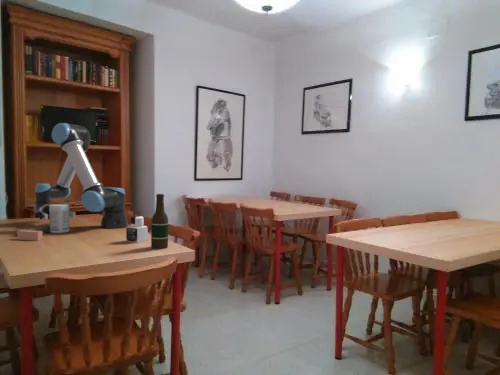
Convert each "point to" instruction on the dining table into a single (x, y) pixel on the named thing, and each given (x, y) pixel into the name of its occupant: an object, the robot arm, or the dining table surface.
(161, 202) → the beer bottle
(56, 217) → the supplement tub
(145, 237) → the medicine bottle
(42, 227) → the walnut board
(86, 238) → the dining table surface
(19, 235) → the block
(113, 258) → the dining table surface
